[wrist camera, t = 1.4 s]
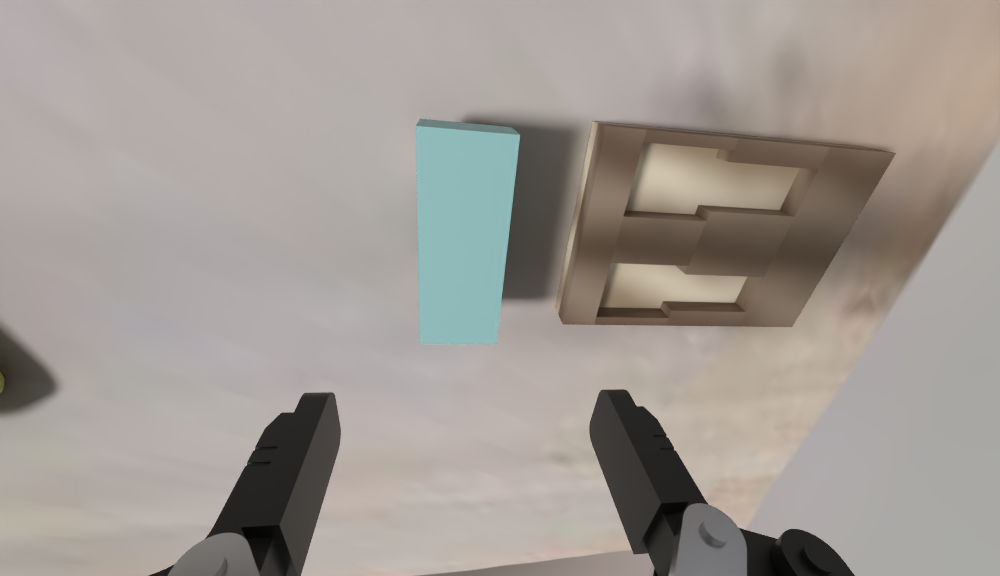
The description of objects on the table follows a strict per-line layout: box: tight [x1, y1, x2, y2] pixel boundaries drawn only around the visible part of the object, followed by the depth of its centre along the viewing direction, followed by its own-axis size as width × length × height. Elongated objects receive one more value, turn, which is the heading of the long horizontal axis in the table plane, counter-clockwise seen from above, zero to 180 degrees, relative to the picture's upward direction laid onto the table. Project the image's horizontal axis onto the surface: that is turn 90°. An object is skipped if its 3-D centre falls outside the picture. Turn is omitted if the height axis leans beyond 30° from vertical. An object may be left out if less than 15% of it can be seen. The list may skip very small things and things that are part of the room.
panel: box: [416, 119, 520, 344], centre depth 23 cm, size 13×5×6 cm, turn 175°
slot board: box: [555, 121, 896, 327], centre depth 27 cm, size 14×20×2 cm
